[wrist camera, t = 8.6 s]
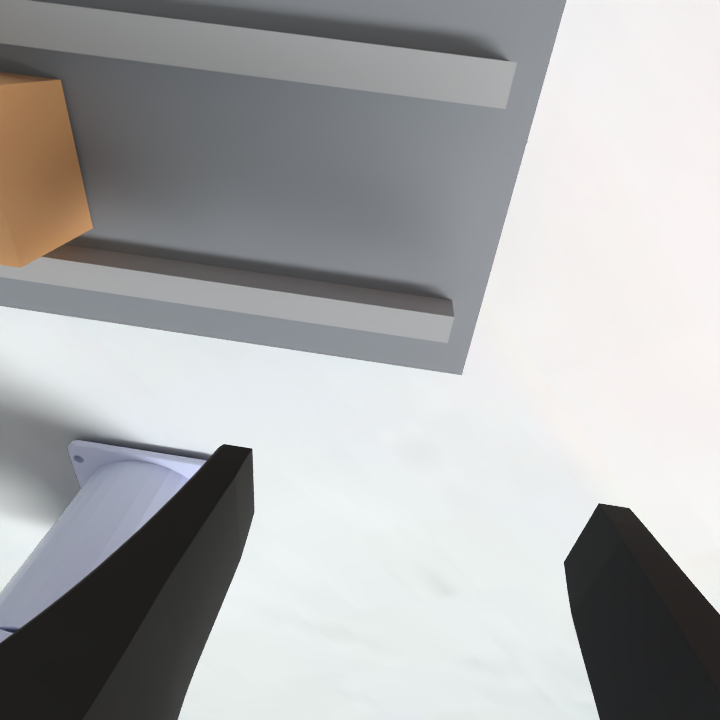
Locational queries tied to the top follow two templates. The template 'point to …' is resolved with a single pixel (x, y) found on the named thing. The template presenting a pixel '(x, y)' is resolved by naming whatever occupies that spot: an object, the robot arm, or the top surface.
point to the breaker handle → (37, 171)
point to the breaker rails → (286, 165)
